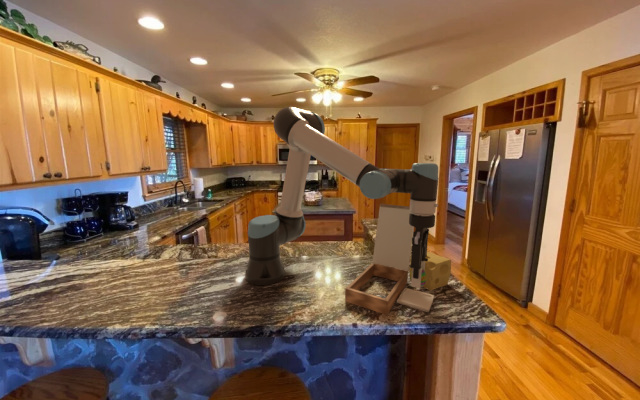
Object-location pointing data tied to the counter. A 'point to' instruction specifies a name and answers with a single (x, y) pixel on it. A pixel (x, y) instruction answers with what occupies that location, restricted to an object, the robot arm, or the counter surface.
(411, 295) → the dish
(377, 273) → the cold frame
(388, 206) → the lid
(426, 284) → the cheese
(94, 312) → the counter surface
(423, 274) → the egg
